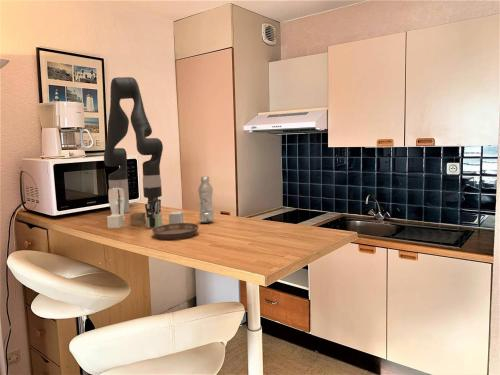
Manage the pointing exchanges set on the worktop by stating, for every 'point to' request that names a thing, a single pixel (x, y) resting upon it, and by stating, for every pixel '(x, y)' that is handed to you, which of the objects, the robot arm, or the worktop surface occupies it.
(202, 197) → the plastic bottle
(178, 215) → the grey block
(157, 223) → the green block
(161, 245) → the worktop surface
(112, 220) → the white block
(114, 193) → the beer glass
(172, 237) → the plant saucer
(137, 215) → the walnut block
